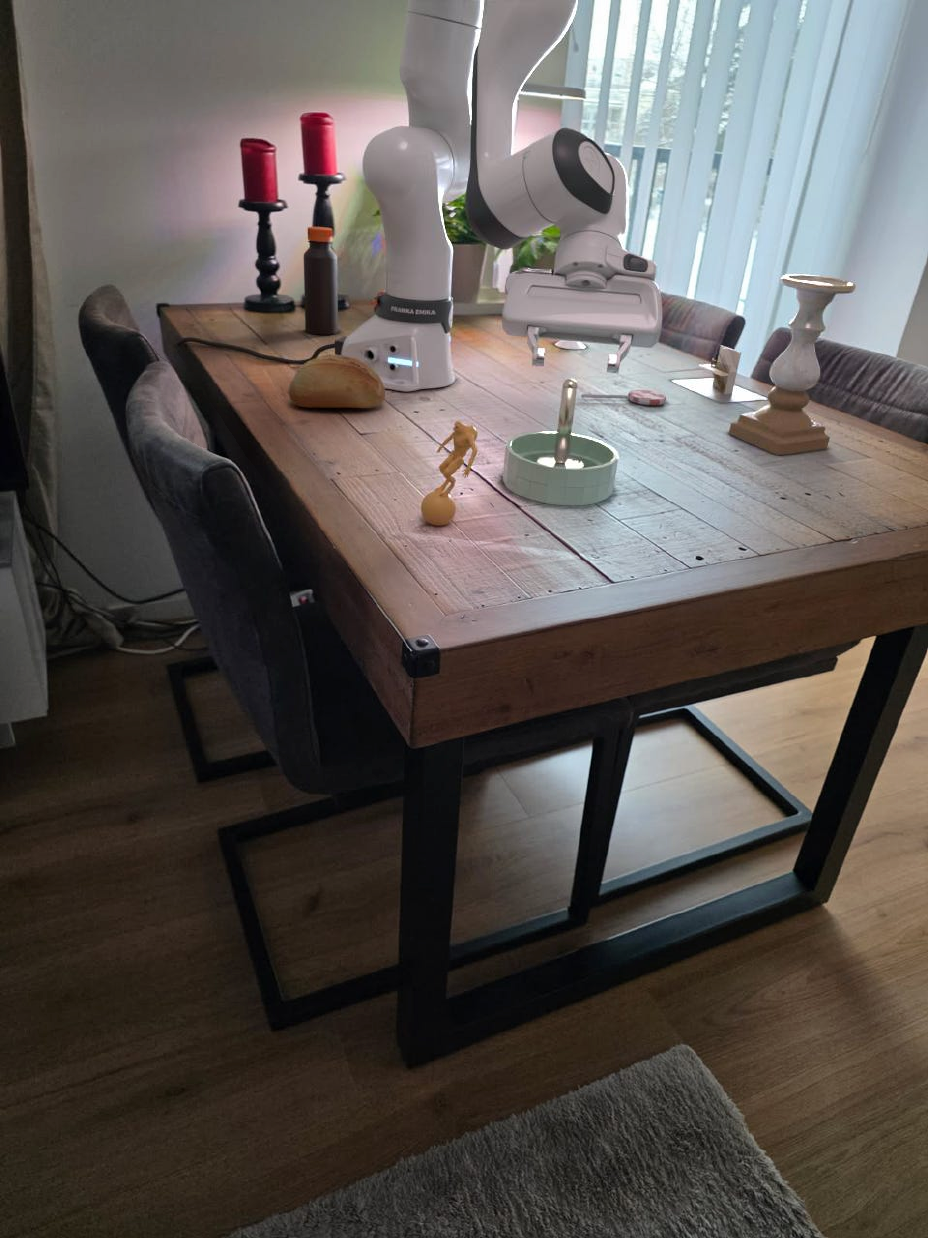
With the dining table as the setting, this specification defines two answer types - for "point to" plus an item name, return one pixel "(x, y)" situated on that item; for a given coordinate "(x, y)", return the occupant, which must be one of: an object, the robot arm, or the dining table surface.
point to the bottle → (320, 283)
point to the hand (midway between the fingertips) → (575, 367)
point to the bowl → (559, 470)
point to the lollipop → (636, 397)
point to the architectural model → (721, 380)
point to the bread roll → (336, 384)
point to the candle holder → (794, 375)
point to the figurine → (439, 503)
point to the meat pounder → (564, 430)
